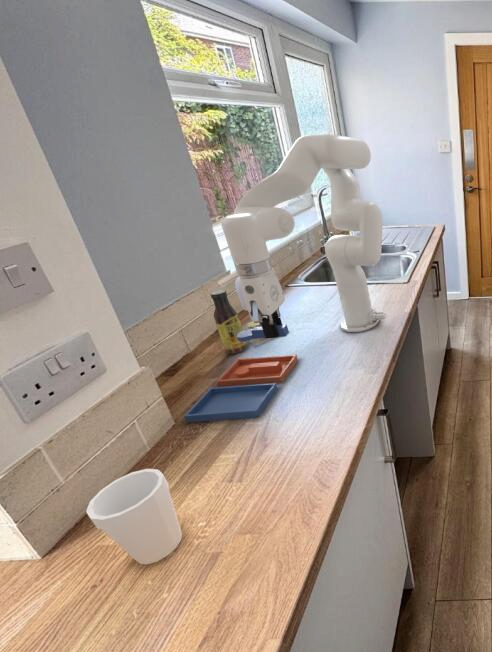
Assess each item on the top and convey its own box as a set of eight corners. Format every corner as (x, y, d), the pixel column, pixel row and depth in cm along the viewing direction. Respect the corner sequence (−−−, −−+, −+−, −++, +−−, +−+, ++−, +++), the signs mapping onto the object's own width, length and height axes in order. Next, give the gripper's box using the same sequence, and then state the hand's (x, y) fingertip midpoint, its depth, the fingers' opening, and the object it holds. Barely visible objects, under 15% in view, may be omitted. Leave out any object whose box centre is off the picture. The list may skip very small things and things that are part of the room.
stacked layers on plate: (256, 346, 130) (250, 331, 128) (243, 338, 135) (238, 324, 133) (286, 333, 137) (281, 318, 135) (273, 326, 142) (269, 312, 140)
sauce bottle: (238, 355, 125) (216, 297, 117) (221, 354, 126) (198, 296, 118) (253, 344, 131) (234, 288, 123) (237, 343, 132) (216, 287, 124)
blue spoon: (290, 330, 106) (288, 322, 105) (284, 338, 102) (281, 330, 101) (243, 334, 105) (240, 325, 104) (234, 342, 101) (231, 333, 100)
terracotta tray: (298, 360, 121) (296, 354, 120) (282, 382, 111) (280, 376, 110) (240, 364, 120) (237, 358, 120) (218, 387, 110) (216, 381, 109)
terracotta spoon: (283, 366, 118) (281, 359, 116) (277, 375, 114) (274, 367, 113) (241, 369, 117) (238, 362, 116) (233, 378, 113) (230, 371, 112)
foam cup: (150, 523, 73) (118, 471, 67) (203, 518, 73) (176, 465, 68) (109, 577, 64) (69, 523, 59) (170, 571, 65) (135, 516, 59)
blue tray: (278, 388, 108) (276, 382, 108) (258, 417, 98) (256, 410, 97) (213, 393, 108) (210, 387, 107) (186, 422, 98) (183, 416, 97)
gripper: (254, 277, 89) (276, 349, 96) (284, 255, 103) (301, 320, 111) (219, 279, 88) (244, 352, 96) (254, 257, 103) (273, 321, 111)
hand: (275, 334), depth 103 cm, fingers closed on blue spoon, 2 cm apart
